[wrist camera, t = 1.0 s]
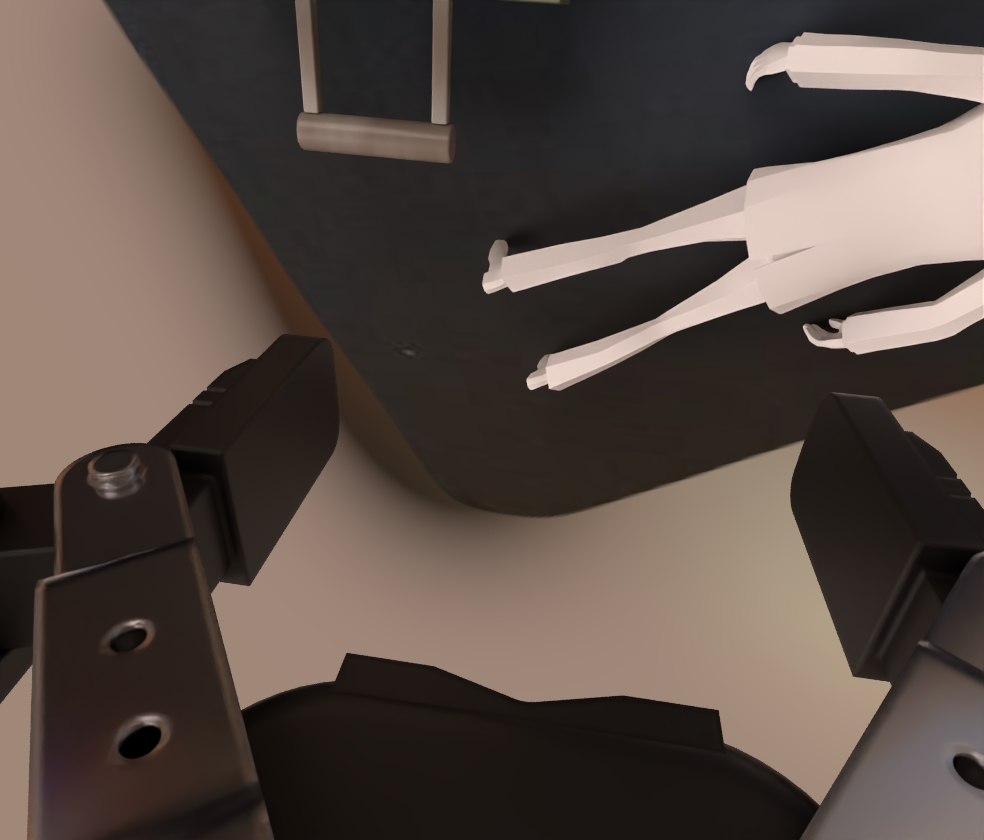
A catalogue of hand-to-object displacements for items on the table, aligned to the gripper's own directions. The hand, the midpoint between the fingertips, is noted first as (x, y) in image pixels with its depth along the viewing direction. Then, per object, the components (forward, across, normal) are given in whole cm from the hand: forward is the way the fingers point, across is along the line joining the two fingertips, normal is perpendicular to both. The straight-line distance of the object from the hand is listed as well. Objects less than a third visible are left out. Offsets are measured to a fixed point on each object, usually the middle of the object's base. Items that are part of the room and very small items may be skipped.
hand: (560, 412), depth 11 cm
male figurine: (+22, -8, +2) cm, 24 cm away
